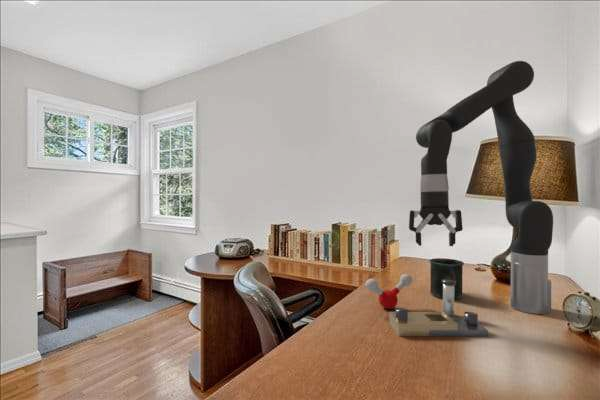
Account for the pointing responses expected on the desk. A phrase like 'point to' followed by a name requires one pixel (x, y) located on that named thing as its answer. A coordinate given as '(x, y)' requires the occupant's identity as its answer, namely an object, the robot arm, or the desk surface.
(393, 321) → the two-tone base plate
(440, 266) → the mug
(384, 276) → the desk surface
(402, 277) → the molecular model
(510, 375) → the desk surface
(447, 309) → the pin
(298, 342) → the desk surface
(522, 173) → the robot arm
